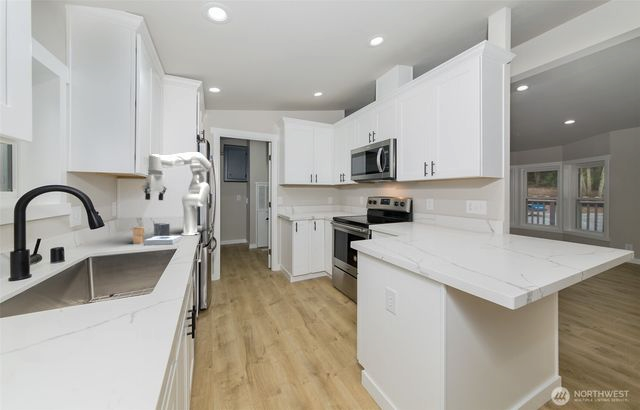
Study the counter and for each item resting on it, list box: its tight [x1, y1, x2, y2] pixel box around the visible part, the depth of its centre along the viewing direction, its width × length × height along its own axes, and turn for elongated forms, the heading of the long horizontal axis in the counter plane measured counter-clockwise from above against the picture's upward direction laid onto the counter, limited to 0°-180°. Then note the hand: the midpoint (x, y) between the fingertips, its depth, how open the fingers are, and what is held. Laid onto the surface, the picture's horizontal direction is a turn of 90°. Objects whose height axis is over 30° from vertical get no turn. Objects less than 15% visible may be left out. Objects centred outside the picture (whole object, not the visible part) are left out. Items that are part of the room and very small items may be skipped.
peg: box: [132, 226, 145, 245], centre depth 160 cm, size 4×4×10 cm
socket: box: [143, 235, 182, 246], centre depth 164 cm, size 16×16×3 cm
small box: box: [153, 222, 171, 237], centre depth 180 cm, size 11×6×10 cm, turn 56°
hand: (154, 200), depth 164 cm, fingers open, 9 cm apart
